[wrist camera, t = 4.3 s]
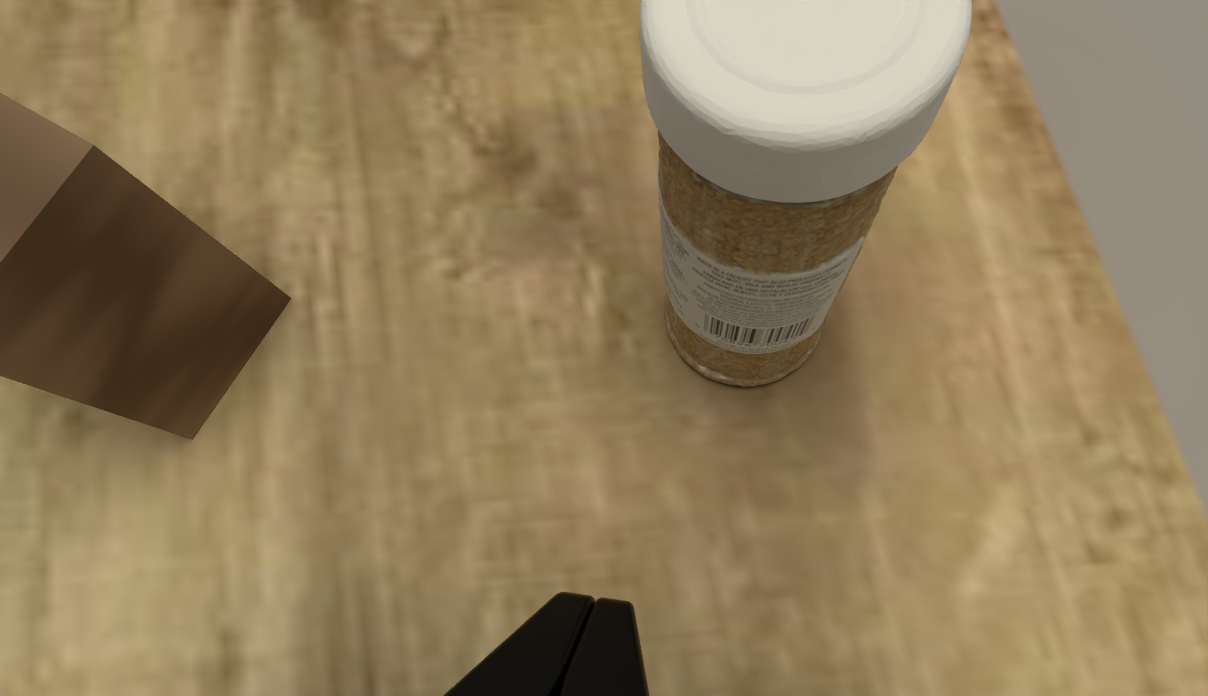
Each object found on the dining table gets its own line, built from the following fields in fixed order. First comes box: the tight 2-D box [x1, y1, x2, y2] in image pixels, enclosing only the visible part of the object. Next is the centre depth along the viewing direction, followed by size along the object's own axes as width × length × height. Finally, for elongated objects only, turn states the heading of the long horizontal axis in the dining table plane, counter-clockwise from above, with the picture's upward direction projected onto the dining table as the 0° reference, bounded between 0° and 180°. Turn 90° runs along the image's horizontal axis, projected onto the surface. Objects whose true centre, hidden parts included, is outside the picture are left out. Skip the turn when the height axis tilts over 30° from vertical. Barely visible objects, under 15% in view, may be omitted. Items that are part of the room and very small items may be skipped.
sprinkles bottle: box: [640, 0, 972, 387], centre depth 18 cm, size 5×5×14 cm
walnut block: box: [0, 93, 291, 440], centre depth 21 cm, size 5×5×9 cm
